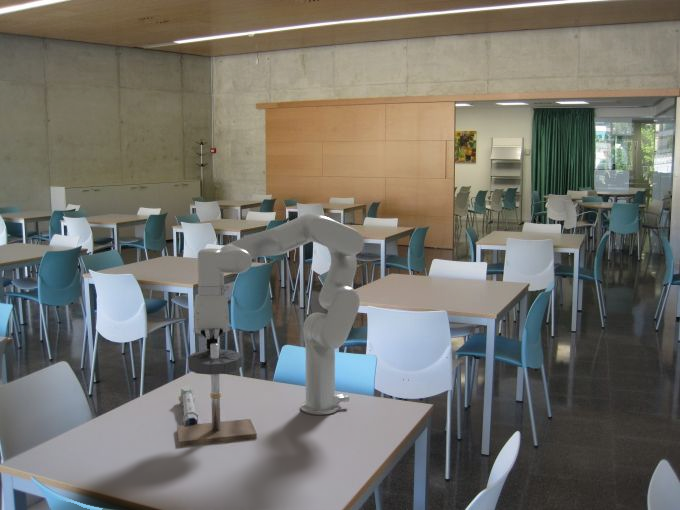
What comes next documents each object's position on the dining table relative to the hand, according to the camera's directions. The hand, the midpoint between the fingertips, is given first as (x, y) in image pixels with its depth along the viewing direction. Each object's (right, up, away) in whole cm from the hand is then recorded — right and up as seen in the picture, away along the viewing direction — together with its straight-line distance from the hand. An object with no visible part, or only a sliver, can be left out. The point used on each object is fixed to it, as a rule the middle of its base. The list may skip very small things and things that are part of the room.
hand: (212, 350), depth 210 cm
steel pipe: (+2, -23, -2) cm, 23 cm away
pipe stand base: (+2, -24, -2) cm, 25 cm away
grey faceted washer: (+2, -4, -5) cm, 7 cm away
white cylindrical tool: (-10, -23, +14) cm, 28 cm away
